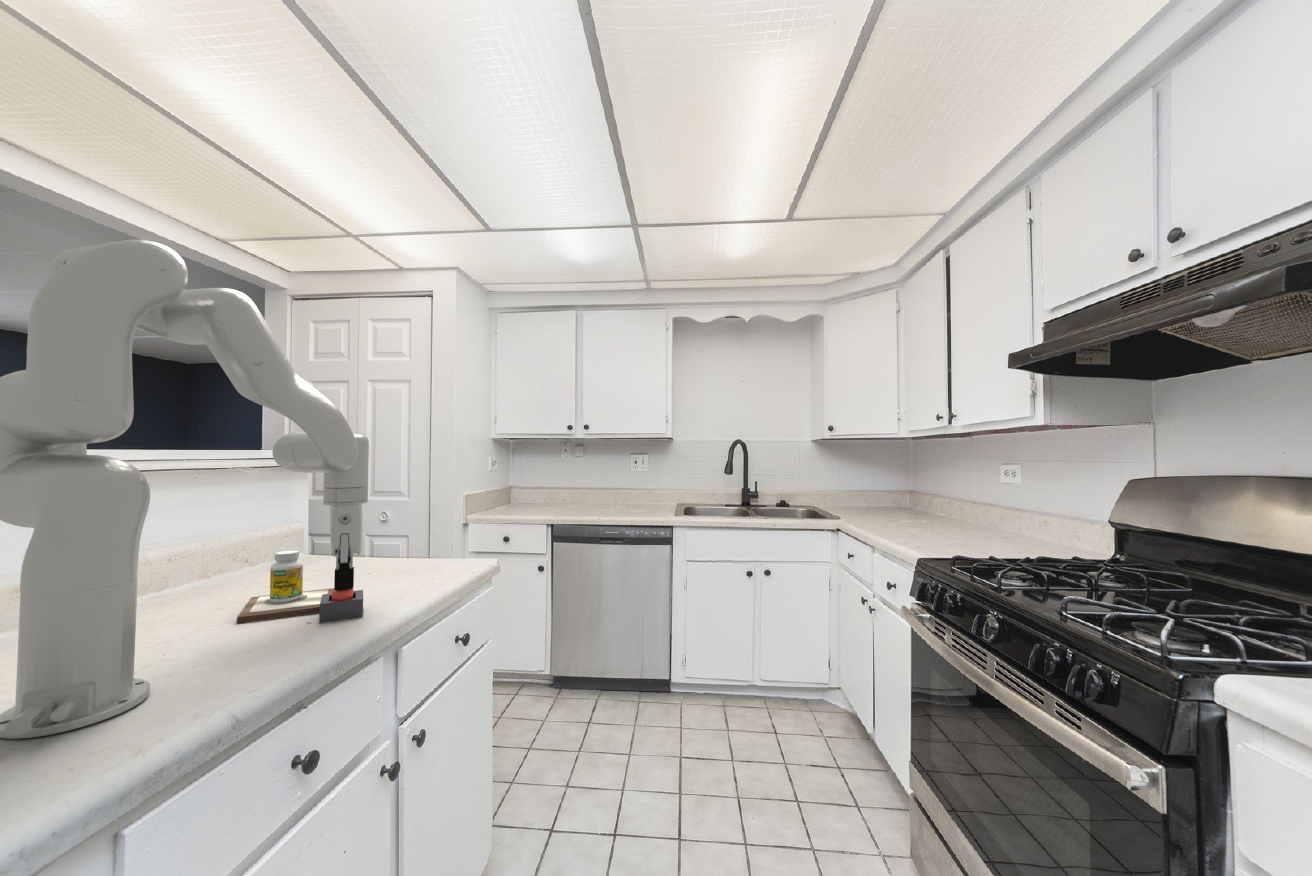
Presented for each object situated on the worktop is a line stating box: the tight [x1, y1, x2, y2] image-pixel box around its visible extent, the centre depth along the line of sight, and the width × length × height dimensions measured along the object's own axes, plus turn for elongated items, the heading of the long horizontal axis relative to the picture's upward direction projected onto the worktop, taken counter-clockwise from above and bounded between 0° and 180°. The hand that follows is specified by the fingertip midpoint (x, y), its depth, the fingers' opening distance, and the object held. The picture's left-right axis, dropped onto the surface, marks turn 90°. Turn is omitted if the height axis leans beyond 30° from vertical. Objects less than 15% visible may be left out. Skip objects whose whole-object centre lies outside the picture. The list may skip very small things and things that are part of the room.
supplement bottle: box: [269, 550, 304, 603], centre depth 102 cm, size 5×5×10 cm
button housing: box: [318, 589, 364, 624], centre depth 97 cm, size 7×7×4 cm
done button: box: [332, 588, 354, 601], centre depth 97 cm, size 4×4×2 cm
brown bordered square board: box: [236, 587, 334, 624], centre depth 101 cm, size 14×15×2 cm
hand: (344, 588), depth 98 cm, fingers closed
